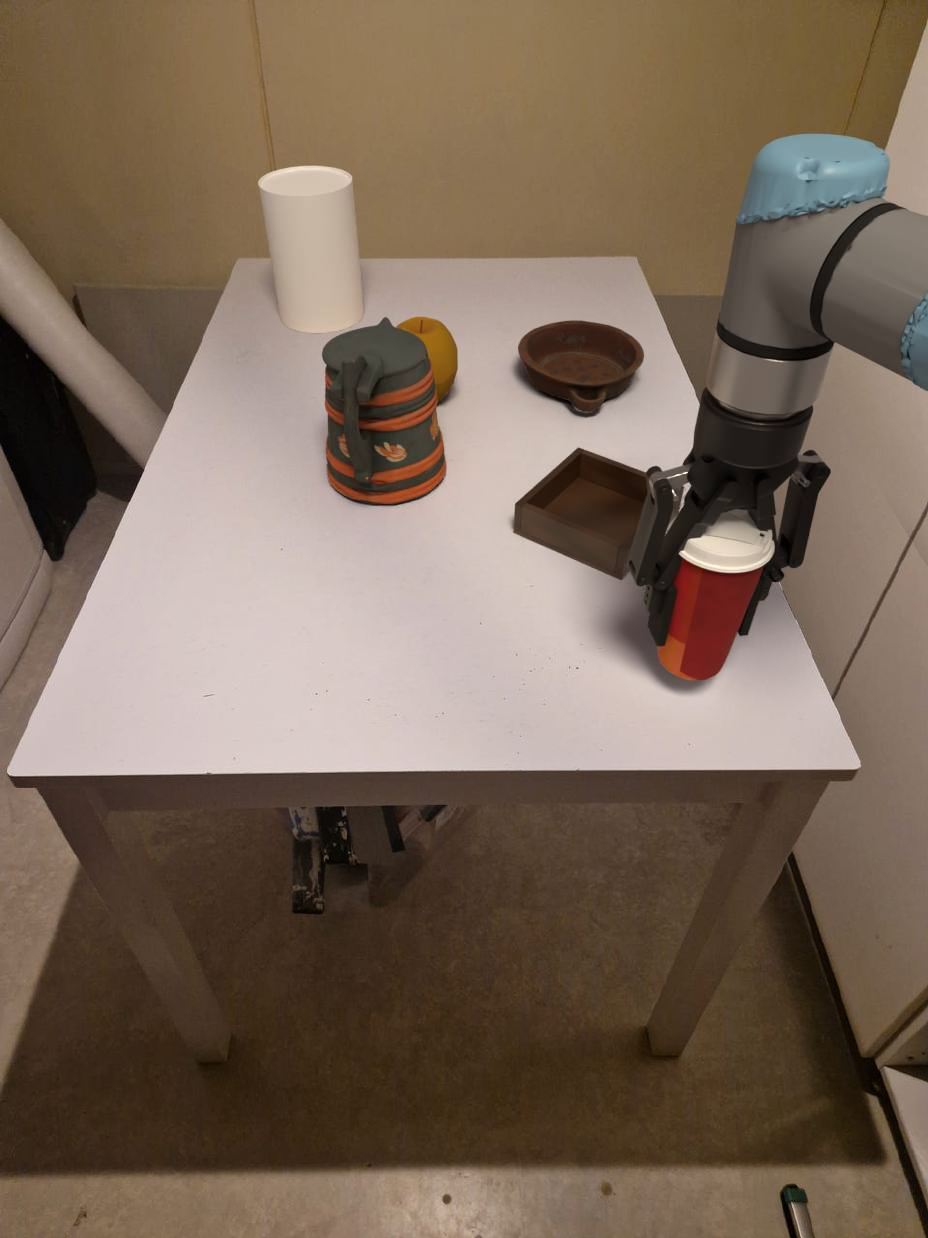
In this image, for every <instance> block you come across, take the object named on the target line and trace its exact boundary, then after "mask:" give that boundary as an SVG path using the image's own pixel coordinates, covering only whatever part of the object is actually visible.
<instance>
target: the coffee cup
mask: <svg viewBox="0 0 928 1238" xmlns="http://www.w3.org/2000/svg"><path fill="white" fill-rule="evenodd" d="M678 514H679V513H678ZM678 514H677V515H678ZM677 515H676V517H677ZM676 517H675V518H674V519H673V520H672V521H671V522H670V524H669V525H668V528H667V531H666V533H667V532H668V530H669V528H670V527H671V525H672V524H673V522H674V520H675V519H676ZM760 533H762V534H763V535H764V536H762V537H761V536H760ZM774 549H775V545H774V541H773V540H772V530H768V532H766V531H760V530H759V528H758V527H757V526H756V524H755V523H754V521H753V520H752V518H751V517H750V515H749V514H748V511H747V510H739V509H735V510H731V511H728V512H725V513H721V515H720V516H719V518H718V520H717V521H716V523H715V524H714V525H713V526H708V527H707V529H706V530H705V532H704V533H703V535H702V536H701V538H694V539H689V540H688V541H687V543H686V545H685V548H684V550H683V551H680V553H679V555H680V556H681V557H682V562H681V568H680V570H679V572H678V573H677V575H676V576H675V578H674V579H673V581H672V584H673V585H674V586H675V587H676V588H677V589H678V592H677V596H676V600H675V605H674V609H673V613H672V618H671V622H670V627H669V631H668V635H667V640H666V644H665V646H659V647H657V657H658V660H659V663H660V664H661V665H662V666H663V668H664V669H665V670H667V671H668V672H669V673H671V674H672V675H674V676H676V677H677V678H681V679H684V680H686V681H687V680H688V681H704V680H709V679H712V678H713V677H715V676H717V675H718V674H719V673H720V672H721V670H723V667H724V666H725V664H726V661H727V659H728V656H729V655H730V652H731V649H732V647H733V645H734V642H735V640H736V637H737V635H738V630H739V627H740V625H741V622H742V620H743V617H744V615H745V612H746V610H747V607H748V605H749V603H750V600H751V598H752V596H753V593H754V591H755V588H756V586H757V584H758V581H759V579H760V576H761V573H762V571H763V568H764V565H765V564H766V563H767V562H768V561H769V560H770V559H771V557H772V556H773V553H774Z"/></svg>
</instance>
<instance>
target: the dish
mask: <svg viewBox="0 0 928 1238" xmlns="http://www.w3.org/2000/svg"><path fill="white" fill-rule="evenodd" d="M517 351H518V355H519V357H520V358H521V360H522V362H523V366H524V369H525V372H526V375H527V376H528V378H529V380H530V382H531V384H532V385H533V386H535V388H537V389H539V391H541V392H543V393H545V394H547V395H550V396H553V397H555V398H558V399H562V400H567V401H568V402H569V403H570V404H571V406H573V408H575V409H576V410H578V411H581V412H585V413H591V412H594V411H597V410H599V409H600V408H601V407H602V405H603V404H604V401H605V400H608V399H610V398H614V397H616V396H617V395H619V394H621V393H622V392H623V391H625V390H626V389H627V387H628V386H629V385H630V383H631V382H632V380H633V378H634V375H635V374H636V372H637V371H638V370H639V368H640V367H641V366H642V365H643V362H644V360H645V351H644V348H643V347H642V345H641V343H640V342H639V341H638V340H637V339H636V338H635V337H634V336H632V335H631V334H629V333H628V332H626V331H624V330H622V328H619V327H616V326H613V325H609V324H604V323H600V322H594V321H586V320H580V319H579V320H574V319H573V320H572V319H571V320H563V321H562V320H561V321H556V322H550V323H547V324H544V325H540V326H538V327H535V328H533V329H531V330H530V331H528V332H527V333H525V334H524V335H523V336H522V337H521V339H520V341H519V343H518V345H517Z"/></svg>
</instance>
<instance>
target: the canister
mask: <svg viewBox="0 0 928 1238" xmlns="http://www.w3.org/2000/svg"><path fill="white" fill-rule="evenodd" d="M257 184H258V190H259V197H260V202H261V209H262V214H263V220H264V226H265V227H264V228H265V233H266V239H267V245H268V251H269V252H268V253H269V257H270V263H271V270H272V277H273V282H274V288H275V289H274V290H275V294H276V301H277V307H278V313H279V318H280V321H281V323H282V325H284V326H285V327H287V328H289V329H291V330H293V331H296V332H300V333H305V334H328V333H335V332H339V331H344V330H346V329H349V328H351V327H354V326H355V325H356V324H358V323H360V322H361V320H363V318H364V316H365V304H364V292H363V282H362V281H363V280H362V270H361V260H360V248H359V238H358V237H359V236H358V227H357V226H358V225H357V214H356V213H357V212H356V203H355V202H356V201H355V192H354V182H353V176H352V175H351V174H350V172H348V171H346V170H344V169H341V168H338V167H333V166H332V167H331V166H325V165H299V166H290V167H285V168H280V169H276V170H273V171H269V172H268V173H266V174H264V175H262V176H261V177H260V178H259V179H258V182H257Z"/></svg>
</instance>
